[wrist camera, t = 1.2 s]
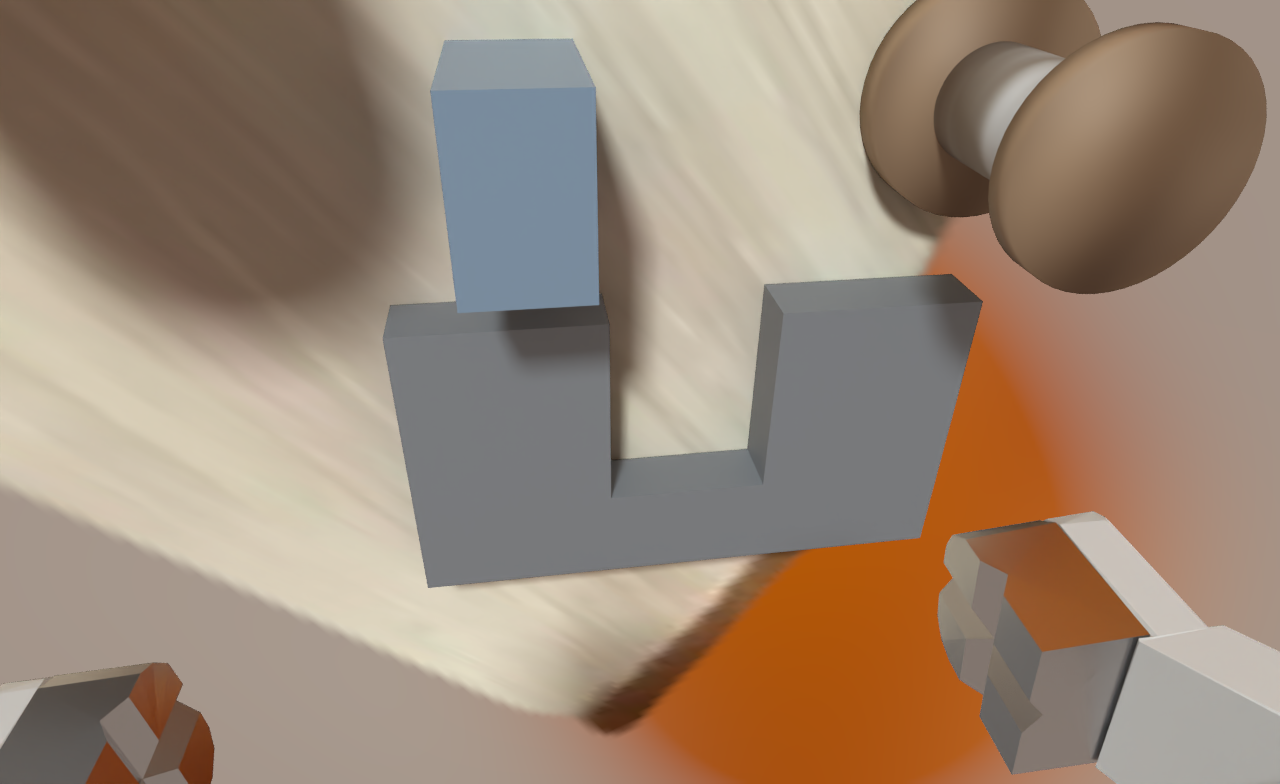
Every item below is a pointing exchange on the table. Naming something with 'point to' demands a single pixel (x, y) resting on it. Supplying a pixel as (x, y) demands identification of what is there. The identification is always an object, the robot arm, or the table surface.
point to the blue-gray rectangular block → (518, 173)
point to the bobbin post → (1065, 132)
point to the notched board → (678, 484)
